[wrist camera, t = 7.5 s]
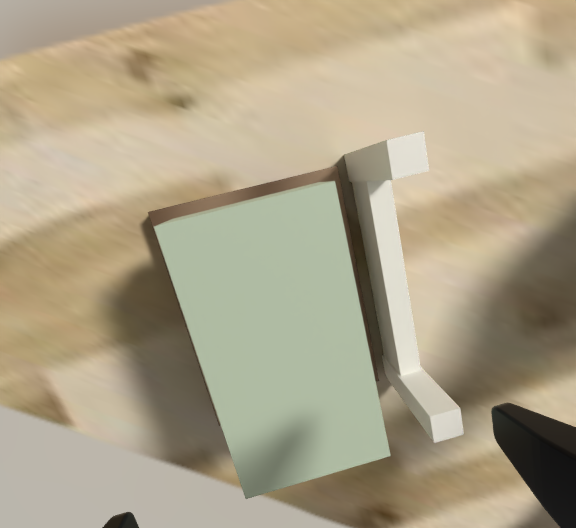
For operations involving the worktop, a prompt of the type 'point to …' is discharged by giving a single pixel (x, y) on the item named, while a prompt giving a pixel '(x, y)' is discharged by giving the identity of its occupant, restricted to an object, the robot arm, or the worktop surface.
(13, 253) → the worktop surface
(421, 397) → the u-shaped frame
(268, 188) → the peg stand
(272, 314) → the board
